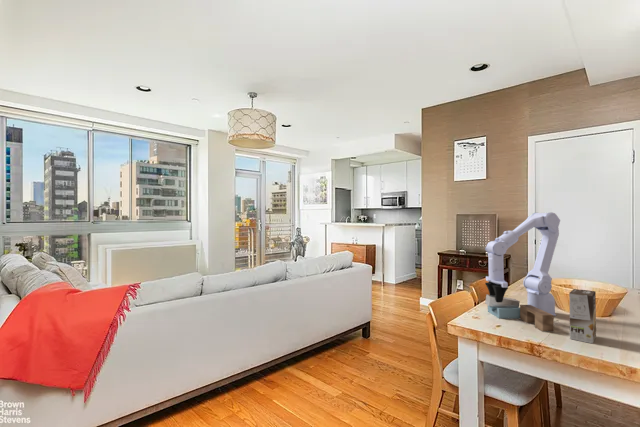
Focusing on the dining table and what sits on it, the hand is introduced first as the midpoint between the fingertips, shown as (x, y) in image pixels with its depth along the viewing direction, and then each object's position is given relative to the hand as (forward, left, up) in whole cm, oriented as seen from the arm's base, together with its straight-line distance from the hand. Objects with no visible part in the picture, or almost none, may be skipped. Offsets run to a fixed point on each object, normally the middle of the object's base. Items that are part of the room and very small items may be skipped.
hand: (496, 300), depth 139 cm
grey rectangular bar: (-2, 0, -1) cm, 2 cm away
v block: (-4, 0, -6) cm, 7 cm away
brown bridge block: (-9, +13, -6) cm, 17 cm away
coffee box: (-17, +26, -6) cm, 31 cm away
